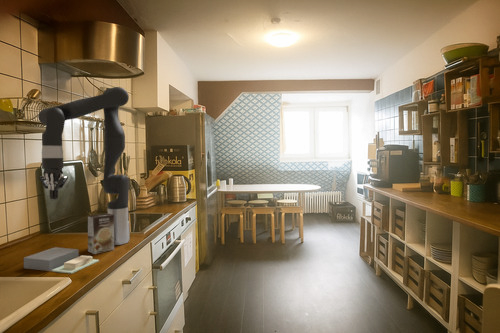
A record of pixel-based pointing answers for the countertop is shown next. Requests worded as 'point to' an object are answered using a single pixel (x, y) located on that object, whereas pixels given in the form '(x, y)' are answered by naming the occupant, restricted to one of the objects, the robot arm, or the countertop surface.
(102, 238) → the coffee box
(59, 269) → the mat
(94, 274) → the countertop surface
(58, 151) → the robot arm
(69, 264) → the tile
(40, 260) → the grey flat block
